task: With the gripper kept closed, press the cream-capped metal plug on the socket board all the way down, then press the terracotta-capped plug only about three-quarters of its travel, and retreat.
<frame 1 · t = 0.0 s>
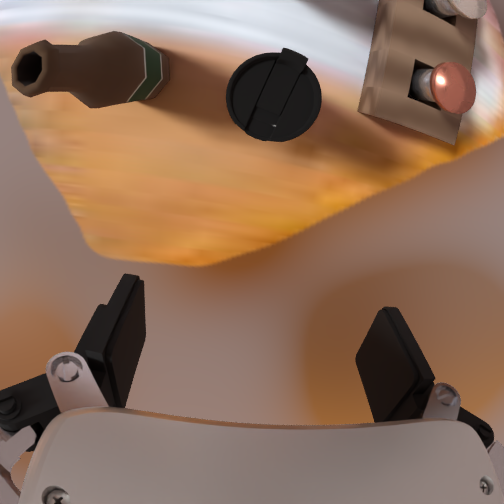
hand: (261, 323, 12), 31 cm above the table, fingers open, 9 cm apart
socket board: (413, 45, 31), on the table
beer bottle: (143, 73, 34), on the table
plug terracotta: (436, 85, 28), point 8 cm above the table, slide at 0.0 cm
travel mug: (260, 93, 36), on the table
plug cream: (449, 0, 22), point 8 cm above the table, slide at 0.0 cm
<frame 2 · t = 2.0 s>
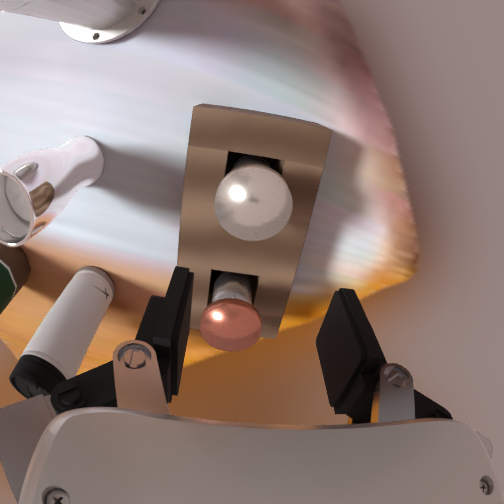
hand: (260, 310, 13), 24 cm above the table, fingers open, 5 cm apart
socket board: (241, 217, 36), on the table
beer bottle: (13, 260, 38), on the table
plug terracotta: (231, 302, 32), point 8 cm above the table, slide at 0.0 cm
travel mug: (95, 283, 40), on the table
beer glass: (82, 160, 32), on the table
plug cream: (252, 188, 26), point 8 cm above the table, slide at 0.0 cm
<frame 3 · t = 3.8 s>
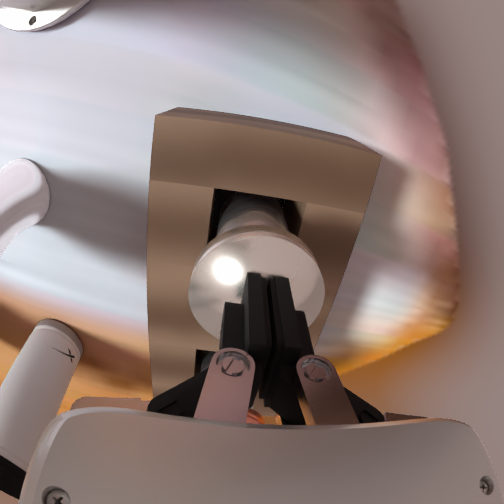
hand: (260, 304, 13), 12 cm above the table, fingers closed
socket board: (237, 269, 26), on the table
plug terracotta: (225, 392, 22), point 8 cm above the table, slide at 0.0 cm
travel mug: (60, 336, 30), on the table
beer glass: (25, 190, 22), on the table
plug cream: (253, 250, 17), point 8 cm above the table, slide at 0.2 cm, touching gripper
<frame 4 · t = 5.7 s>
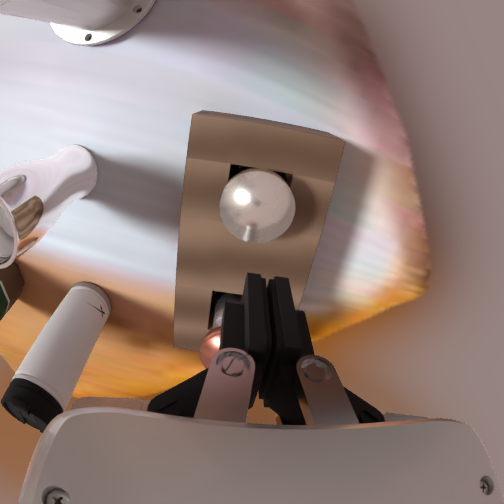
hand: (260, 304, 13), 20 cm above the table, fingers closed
socket board: (245, 233, 34), on the table
beer bottle: (7, 273, 36), on the table
plug terracotta: (234, 326, 30), point 8 cm above the table, slide at 0.0 cm
travel mug: (91, 298, 38), on the table
beer glass: (75, 171, 30), on the table
plug cream: (256, 192, 27), point 4 cm above the table, slide at 3.5 cm
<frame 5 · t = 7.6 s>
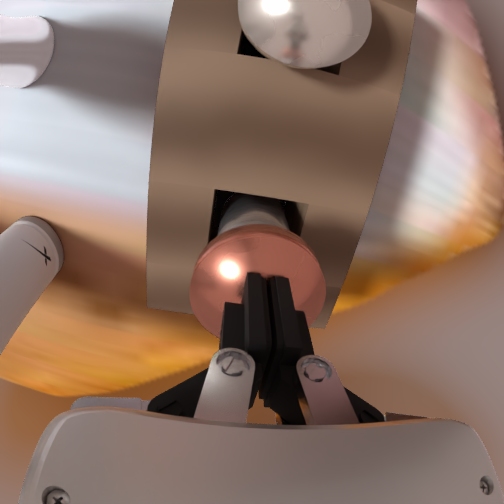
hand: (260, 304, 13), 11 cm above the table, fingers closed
socket board: (267, 118, 20), on the table
plug terracotta: (254, 250, 17), point 7 cm above the table, slide at 0.5 cm, touching gripper
travel mug: (38, 243, 24), on the table
beer glass: (26, 51, 16), on the table
plug cream: (292, 23, 13), point 4 cm above the table, slide at 3.5 cm
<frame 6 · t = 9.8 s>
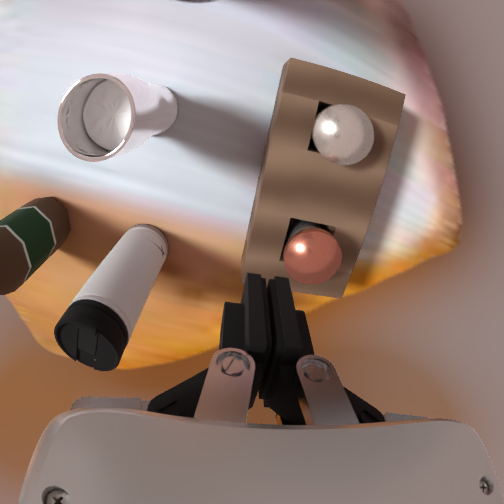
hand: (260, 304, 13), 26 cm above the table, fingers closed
socket board: (311, 176, 36), on the table
beer bottle: (50, 219, 38), on the table
plug terracotta: (306, 241, 34), point 5 cm above the table, slide at 2.4 cm
travel mug: (146, 243, 40), on the table
beer glass: (152, 109, 33), on the table
plug cream: (333, 130, 30), point 4 cm above the table, slide at 3.5 cm
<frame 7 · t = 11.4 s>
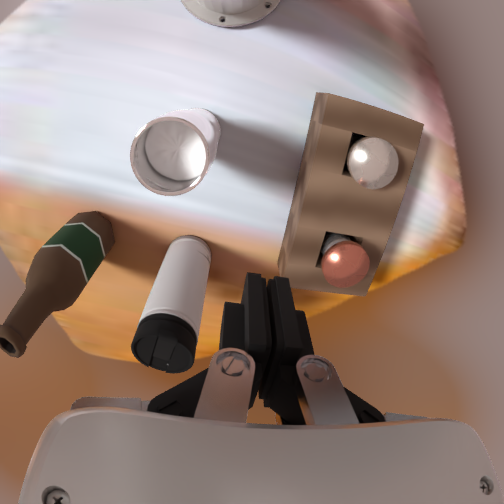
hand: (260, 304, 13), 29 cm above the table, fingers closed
socket board: (339, 191, 41), on the table
beer bottle: (93, 232, 43), on the table
plug terracotta: (338, 250, 39), point 5 cm above the table, slide at 2.4 cm
travel mug: (190, 252, 45), on the table
beer glass: (196, 131, 37), on the table
plug cream: (362, 155, 34), point 4 cm above the table, slide at 3.5 cm
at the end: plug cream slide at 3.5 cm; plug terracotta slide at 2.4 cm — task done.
